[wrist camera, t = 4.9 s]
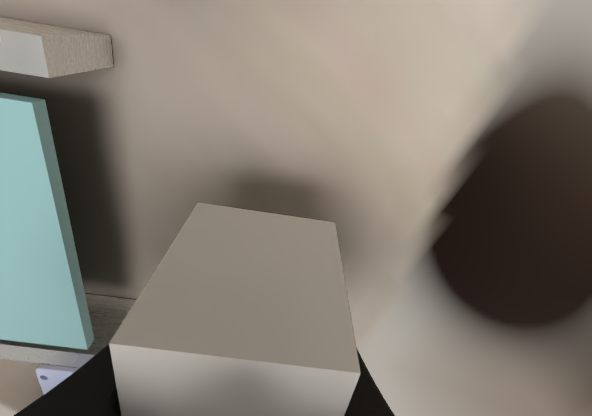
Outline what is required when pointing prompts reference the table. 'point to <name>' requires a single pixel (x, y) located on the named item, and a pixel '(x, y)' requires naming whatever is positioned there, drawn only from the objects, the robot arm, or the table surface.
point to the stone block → (240, 322)
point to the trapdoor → (36, 235)
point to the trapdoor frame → (51, 63)
